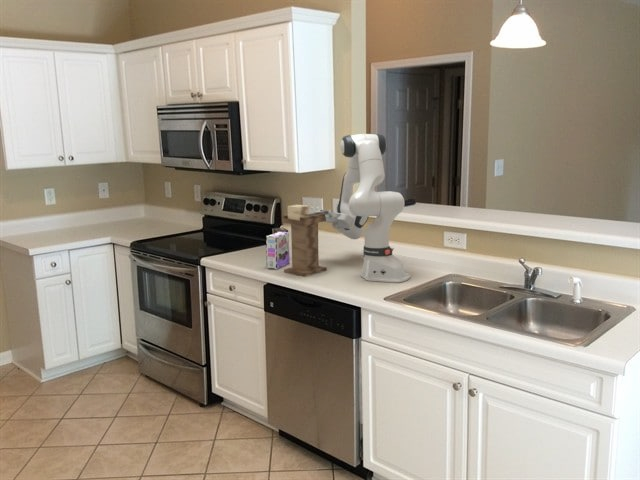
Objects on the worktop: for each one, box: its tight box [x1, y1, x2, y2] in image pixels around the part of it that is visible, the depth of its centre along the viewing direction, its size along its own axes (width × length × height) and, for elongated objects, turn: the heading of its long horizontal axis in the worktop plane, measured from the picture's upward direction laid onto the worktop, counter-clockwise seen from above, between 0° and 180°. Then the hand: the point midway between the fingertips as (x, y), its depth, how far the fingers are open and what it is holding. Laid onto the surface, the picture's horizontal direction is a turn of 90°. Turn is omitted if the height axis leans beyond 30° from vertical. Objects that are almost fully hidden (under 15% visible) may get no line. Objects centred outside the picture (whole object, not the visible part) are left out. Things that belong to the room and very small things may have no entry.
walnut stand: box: [282, 214, 328, 278], centre depth 281 cm, size 16×13×28 cm
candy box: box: [265, 231, 291, 270], centre depth 293 cm, size 14×6×16 cm, turn 155°
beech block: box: [287, 204, 334, 220], centre depth 282 cm, size 26×8×6 cm, turn 137°
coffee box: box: [271, 227, 289, 234], centre depth 309 cm, size 9×6×16 cm
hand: (324, 211), depth 288 cm, fingers open, 4 cm apart
